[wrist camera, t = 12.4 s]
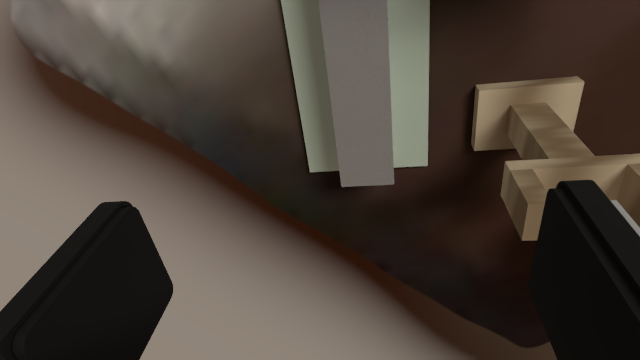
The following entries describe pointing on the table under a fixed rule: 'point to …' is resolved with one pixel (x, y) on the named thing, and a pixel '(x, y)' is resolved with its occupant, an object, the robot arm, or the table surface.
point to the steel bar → (359, 88)
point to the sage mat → (405, 81)
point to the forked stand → (546, 148)
